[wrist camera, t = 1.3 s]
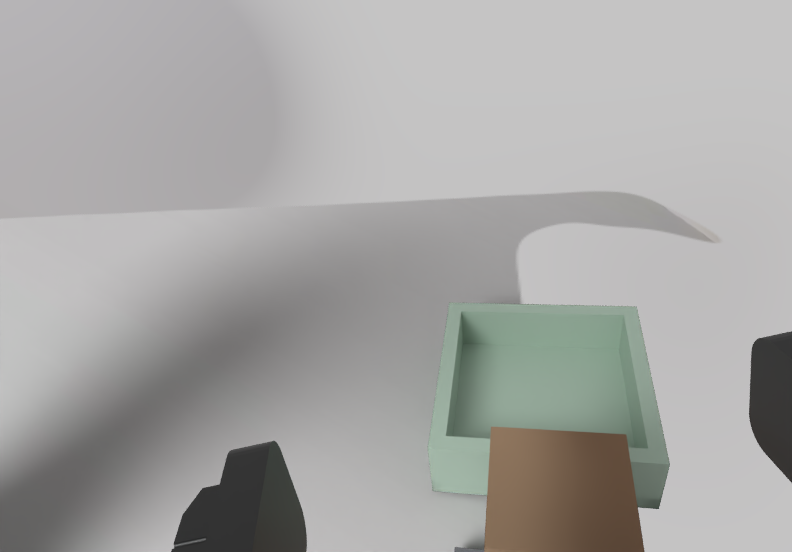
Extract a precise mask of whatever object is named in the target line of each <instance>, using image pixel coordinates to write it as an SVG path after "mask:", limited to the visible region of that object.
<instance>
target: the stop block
mask: <svg viewBox="0 0 792 552" xmlns="http://www.w3.org/2000/svg"><path fill="white" fill-rule="evenodd" d="M484 552H644V547H643V539H642V533H641V526H640V520H639V513H638V507H637V500H636V494H635V487H634V481H633V474H632V468H631V461H630V455H629V448H628V442H627V435H626V434H611V433H594V432H577V431H560V430H543V429H526V428H509V427H491V435H490V454H489V472H488V490H487V508H486V527H485V545H484Z"/></svg>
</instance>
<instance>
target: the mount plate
mask: <svg viewBox="0 0 792 552" xmlns="http://www.w3.org/2000/svg"><path fill="white" fill-rule="evenodd" d="M455 552H484V550H479V549H469V548H458V547H455Z"/></svg>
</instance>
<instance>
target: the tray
mask: <svg viewBox="0 0 792 552" xmlns="http://www.w3.org/2000/svg"><path fill="white" fill-rule="evenodd" d="M491 427H509V428H526V429H543V430H560V431H577V432H594V433H611V434H626V435H627V442H628V448H629V455H630V461H631V468H632V474H633V481H634V487H635V494H636V500H637V507H641V508H653V509H659V506H660V502H661V498H662V494H663V490H664V486H665V481H666V478H667V473H668V470H669V465H670V463H669V458H668V454H667V449H666V444H665V439H664V434H663V430H662V425H661V420H660V415H659V411H658V406H657V401H656V396H655V392H654V387H653V382H652V377H651V373H650V368H649V363H648V359H647V354H646V349H645V344H644V340H643V335H642V330H641V325H640V320H639V316H638V311H637V307H629V306H584V305H537V304H536V305H535V304H491V303H449V308H448V314H447V321H446V328H445V335H444V341H443V348H442V355H441V362H440V368H439V375H438V382H437V389H436V395H435V402H434V409H433V416H432V422H431V429H430V436H429V443H428V455H429V463H430V472H431V480H432V488H433V491H439V492H452V493H464V494H477V495H487V490H488V472H489V454H490V435H491Z"/></svg>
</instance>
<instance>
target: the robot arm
mask: <svg viewBox="0 0 792 552" xmlns="http://www.w3.org/2000/svg"><path fill="white" fill-rule="evenodd" d="M750 382H751V383H750V408H749V417H750V423H751V427H752V430H753V433H754V436H755V438H756V440H757V442H758V443H759V445H760V447H761V448H762V450H763V451H764V452H765V453H766V455H767V456H768V457H769V458H770V459H771V460H772V461H773V462H774V464H775V465H776V466H777V467H778V468H779V469H780V470H781V471H782V472H783V474H785V476H786V477H787V478H788V479H789V480H790V481H791V482H792V332H787V333H782V334H778V335H773V336H769V337H764V338H759V339H757V340H756V341H755V342H754V344H753V347H752V355H751V380H750ZM306 549H307V538H306V527H305V521H304V516H303V512H302V508H301V505H300V502H299V500H298V497H297V494H296V491H295V488H294V486H293V483H292V480H291V477H290V475H289V472H288V469H287V466H286V464H285V461H284V458H283V455H282V452H281V450H280V448H279V446H278V444H277V443H276V442H275V441H272V442H267V443H262V444H258V445H253V446H248V447H244V448H239V449H234V450H231V451H230V452H229V453H228V455H227V459H226V462H225V466H224V470H223V474H222V478H221V482H220V485H216V486H211V487H206V488H202V490H201V491H200V492H199V494H198V495H197V496H196V498H195V499H194V501H193V502H192V503H191V505H190V506H189V507H188V509H187V510H186V511H185V513H184V514H183V516H182V519H181V522H180V525H179V528H178V532H177V535H176V538H175V541H174V549H172V551H171V552H306Z"/></svg>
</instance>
